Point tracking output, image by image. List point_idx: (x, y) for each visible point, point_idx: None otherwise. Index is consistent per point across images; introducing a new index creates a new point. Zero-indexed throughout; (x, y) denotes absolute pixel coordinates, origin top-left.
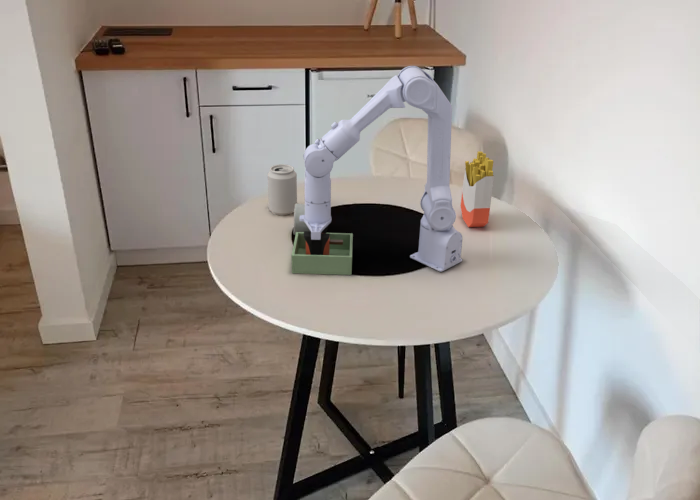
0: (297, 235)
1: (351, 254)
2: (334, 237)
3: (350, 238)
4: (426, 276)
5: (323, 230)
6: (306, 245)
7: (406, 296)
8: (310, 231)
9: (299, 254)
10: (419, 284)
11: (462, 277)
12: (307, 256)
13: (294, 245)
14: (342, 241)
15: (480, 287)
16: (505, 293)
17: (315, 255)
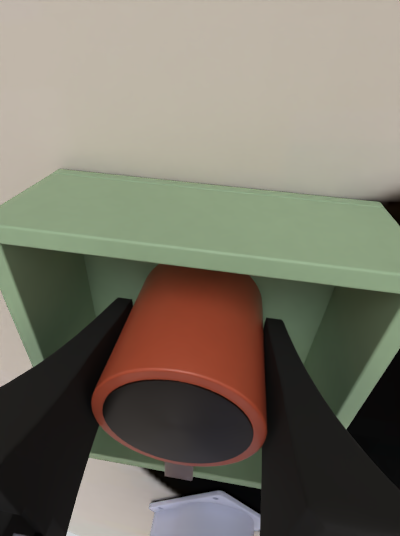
0: (353, 285)
1: (90, 457)
2: None
3: (248, 482)
4: (129, 484)
5: (266, 473)
6: (149, 329)
7: None
8: (11, 506)
9: (10, 276)
10: (90, 469)
11: (135, 513)
12: (14, 314)
13: (148, 252)
14: (170, 476)
15: (103, 516)
16: (91, 526)
17: (31, 354)
